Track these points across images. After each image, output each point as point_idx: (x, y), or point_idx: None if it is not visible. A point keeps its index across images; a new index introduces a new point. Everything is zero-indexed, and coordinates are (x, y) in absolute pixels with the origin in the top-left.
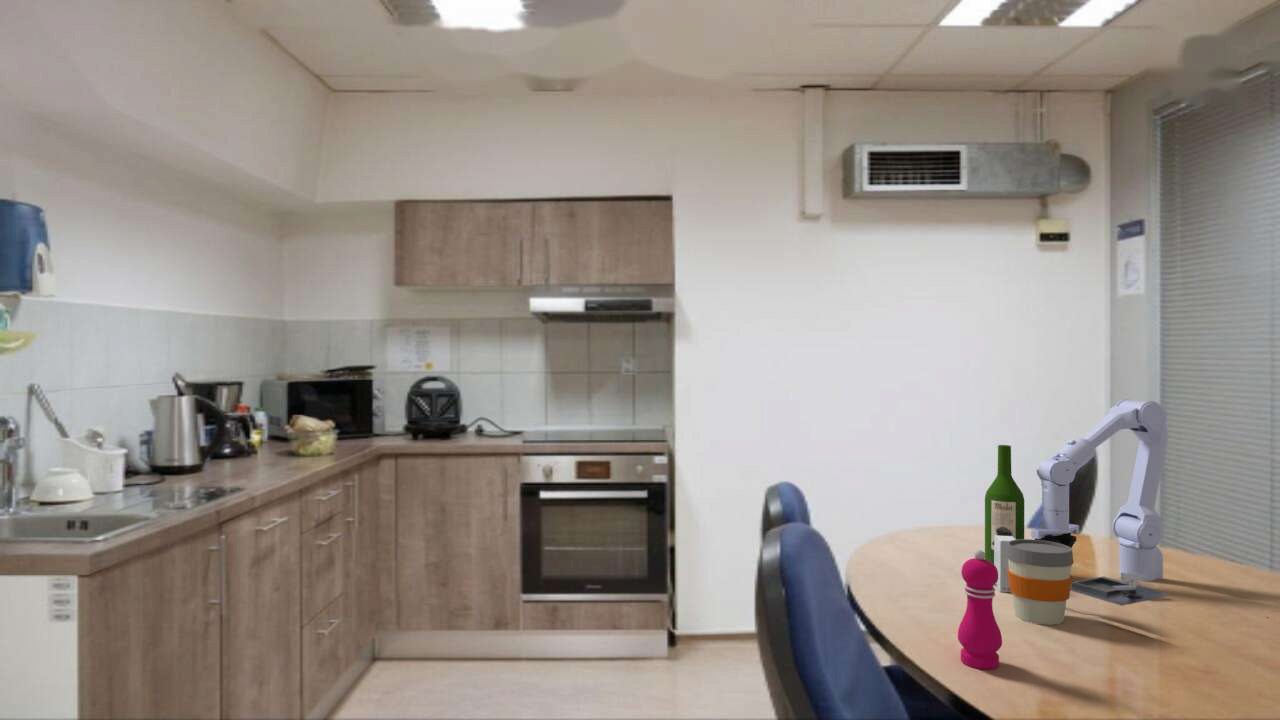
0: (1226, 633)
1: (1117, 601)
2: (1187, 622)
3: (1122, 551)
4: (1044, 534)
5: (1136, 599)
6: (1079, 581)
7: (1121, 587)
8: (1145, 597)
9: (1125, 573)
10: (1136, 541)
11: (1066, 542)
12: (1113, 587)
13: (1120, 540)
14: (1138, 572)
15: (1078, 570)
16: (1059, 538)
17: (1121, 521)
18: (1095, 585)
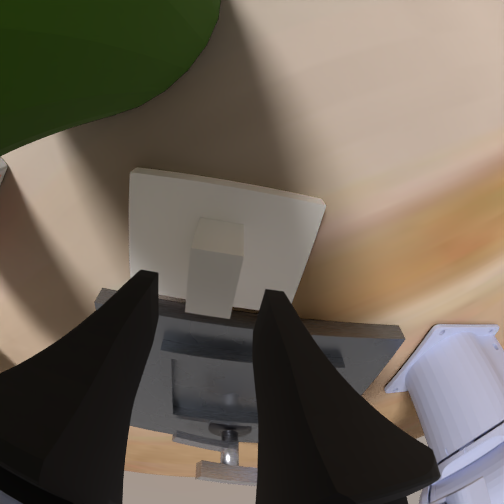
0: (186, 467)
1: (145, 421)
2: (185, 454)
3: (457, 428)
4: (3, 499)
5: (205, 433)
6: (200, 360)
7: (187, 444)
8: (241, 437)
9: (203, 478)
10: (439, 484)
11: (263, 491)
12: (174, 435)
13: (493, 439)
14: (248, 483)
15: (498, 212)
16: (281, 500)
17: None
18: (247, 374)
